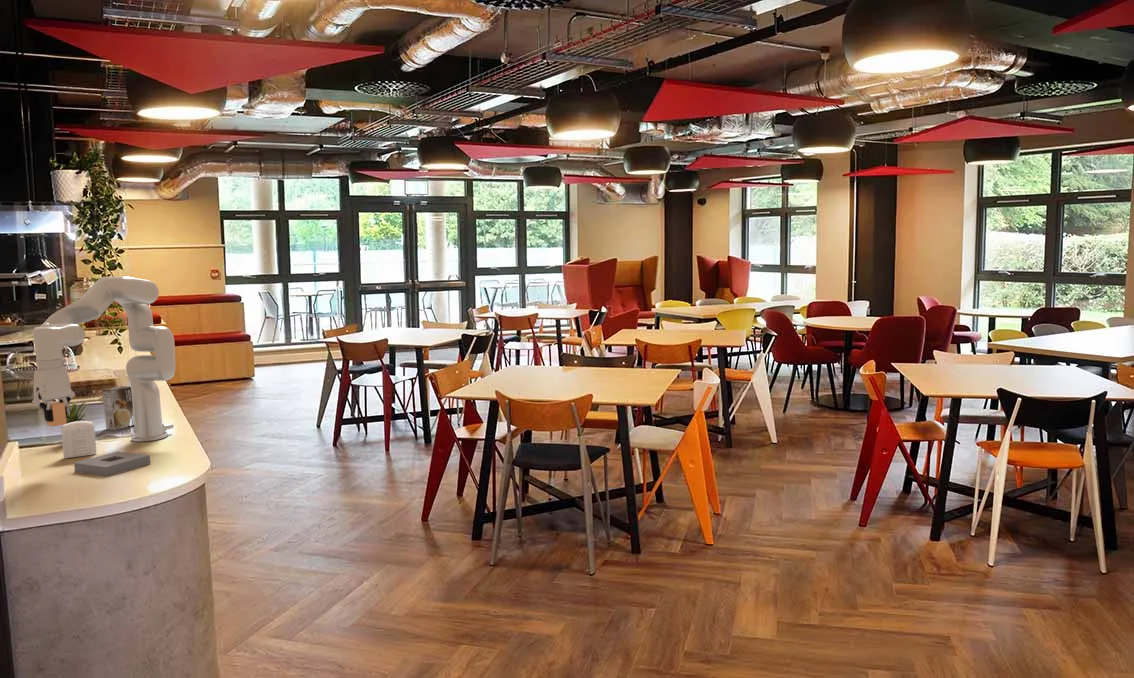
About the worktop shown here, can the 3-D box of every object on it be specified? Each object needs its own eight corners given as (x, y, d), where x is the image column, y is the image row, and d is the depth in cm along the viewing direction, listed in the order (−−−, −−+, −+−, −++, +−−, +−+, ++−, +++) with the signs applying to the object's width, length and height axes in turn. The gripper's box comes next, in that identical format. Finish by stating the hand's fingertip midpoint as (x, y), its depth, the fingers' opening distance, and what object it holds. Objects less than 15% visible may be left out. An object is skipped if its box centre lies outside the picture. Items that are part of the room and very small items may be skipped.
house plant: (105, 437, 342) (101, 395, 340) (87, 445, 328) (83, 402, 326) (68, 438, 341) (63, 396, 339) (48, 447, 328) (43, 403, 326)
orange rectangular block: (58, 422, 295) (56, 402, 294) (66, 423, 293) (64, 402, 292) (47, 425, 291) (44, 404, 290) (54, 426, 289) (52, 405, 288)
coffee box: (127, 424, 365) (123, 385, 363) (136, 425, 362) (132, 386, 360) (105, 428, 357) (101, 389, 355) (114, 430, 354) (110, 390, 352)
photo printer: (96, 452, 317) (92, 418, 315) (97, 454, 313) (94, 420, 312) (63, 457, 311) (59, 422, 310) (64, 459, 308) (60, 424, 306)
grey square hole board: (118, 459, 305) (118, 451, 304) (150, 463, 297) (149, 455, 297) (74, 471, 290) (73, 462, 290) (106, 476, 283) (106, 467, 283)
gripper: (67, 360, 299) (73, 413, 301) (17, 368, 284) (24, 424, 286) (81, 361, 295) (87, 415, 297) (32, 369, 280) (38, 426, 283)
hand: (56, 419), depth 292 cm, fingers closed on orange rectangular block, 4 cm apart
